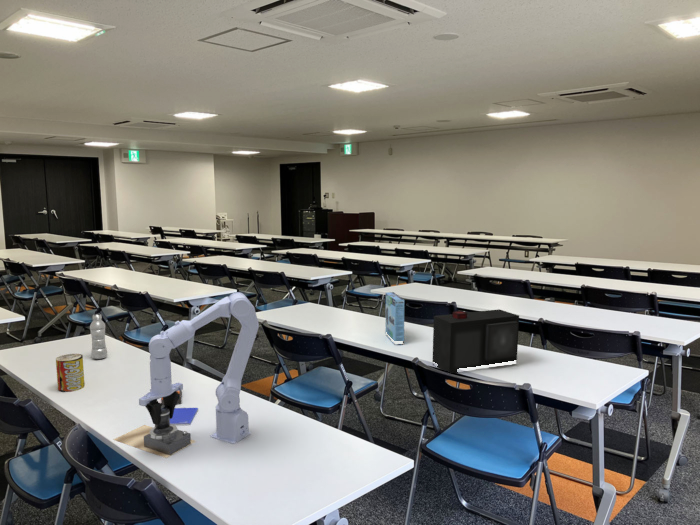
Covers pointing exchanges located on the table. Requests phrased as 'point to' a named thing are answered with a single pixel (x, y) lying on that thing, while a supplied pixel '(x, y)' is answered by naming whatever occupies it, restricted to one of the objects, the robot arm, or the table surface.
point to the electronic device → (178, 399)
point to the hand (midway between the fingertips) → (162, 420)
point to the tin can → (70, 372)
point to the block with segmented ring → (167, 439)
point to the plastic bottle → (98, 337)
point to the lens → (164, 418)
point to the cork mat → (141, 440)
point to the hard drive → (183, 416)
